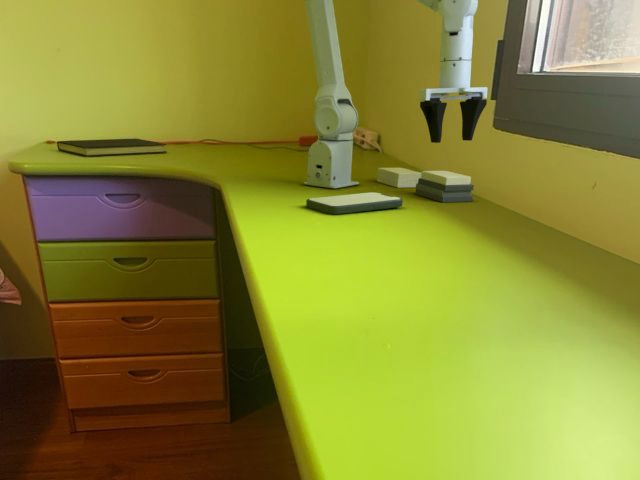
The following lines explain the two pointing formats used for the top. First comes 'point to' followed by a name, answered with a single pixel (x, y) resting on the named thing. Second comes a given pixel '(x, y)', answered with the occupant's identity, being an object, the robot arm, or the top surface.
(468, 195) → the grey book stack
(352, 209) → the phone case
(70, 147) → the hardcover book
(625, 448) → the top surface
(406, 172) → the cream rectangular block
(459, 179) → the cream booklet
